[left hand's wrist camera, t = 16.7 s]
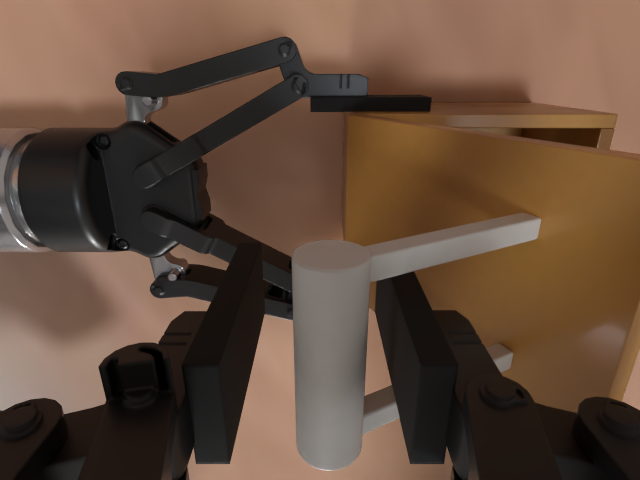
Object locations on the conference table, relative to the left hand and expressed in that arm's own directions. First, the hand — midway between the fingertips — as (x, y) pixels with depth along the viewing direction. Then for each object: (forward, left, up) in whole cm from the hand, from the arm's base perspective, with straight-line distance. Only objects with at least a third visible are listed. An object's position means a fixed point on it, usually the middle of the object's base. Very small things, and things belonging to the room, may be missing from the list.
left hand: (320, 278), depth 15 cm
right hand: (+5, -3, -12) cm, 13 cm away
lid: (+5, -3, -2) cm, 6 cm away
